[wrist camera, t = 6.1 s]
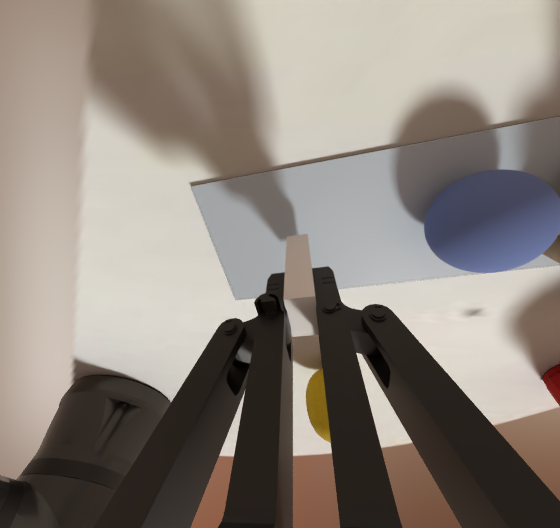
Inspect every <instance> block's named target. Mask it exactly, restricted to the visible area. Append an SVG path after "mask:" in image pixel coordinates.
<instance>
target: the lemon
mask: <svg viewBox="0 0 560 528" xmlns="http://www.w3.org/2000/svg"><path fill="white" fill-rule="evenodd" d="M306 405H307V411H308V416H309V419H310V422H311V424H312V426H313V428H314V429H315V431H316V432H317V434H318V435H319V436H321V437H322V438H323V439H324V440H326V441H328V442H331V439H330V430H329V421H328V412H327V404H326V395H325V386H324V377H323V369H320V370H318V371H317V372H315V373H314V374H313V375H312V377H311V378H310V380H309V383H308V385H307V390H306Z"/></svg>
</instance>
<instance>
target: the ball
mask: <svg viewBox="0 0 560 528" xmlns="http://www.w3.org/2000/svg"><path fill="white" fill-rule="evenodd" d="M559 232H560V198H559V196H558V194H557V193H556V191H555V190H554V189H553V188H552V187H551V186H550V185H549V184H548V183H546V182H545V181H543V180H542V179H540V178H538V177H536V176H534V175H531V174H529V173H526V172H522V171H517V170H507V169H497V170H488V171H483V172H478V173H475V174H472V175H469V176H466V177H464V178H462V179H460V180H458V181H456V182H454V183H453V184H451V185H450V186H448V187H447V188H446V189H444V190H443V191H442V192H441V193H440V194H439V195H438V196H437V197H436V198H435V200H434V201H433V202H432V204H431V205H430V207H429V209H428V211H427V214H426V217H425V222H424V233H425V238H426V241H427V243H428V245H429V247H430V249H431V250H432V251H433V253H434V254H435V255H436V256H437V257H438V258H439V259H441V260H442V261H444V262H445V263H447V264H449V265H451V266H453V267H455V268H458V269H460V270H464V271H469V272H476V273H495V272H501V271H507V270H511V269H514V268H517V267H520V266H522V265H524V264H527V263H529V262H530V261H532V260H534V259H536V258H537V257H539V256H540V255H541V254H542V253H544V252H545V251H546V250H547V249H548V248H549V247H550V246H551V245H552V243H553V242H554V241H555V239H556V238H557V236H558V234H559Z"/></svg>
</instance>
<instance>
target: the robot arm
mask: <svg viewBox="0 0 560 528" xmlns="http://www.w3.org/2000/svg"><path fill="white" fill-rule="evenodd" d="M254 304H255V307H256V310H257V312H258V316H257V317H255V318H254V319H252V320H249V321H246V322H242V321H241V320H240V319H237V318H233V319H229V320H226V321H225V322H223V323H222V324H221V325H220V326H219V327H218V329H217V330H216V332H215V334H214V335H213V337H212V338H211V340H210V342H209V343H208V345H207V346H206V348H205V350H204V351H203V353H202V354H201V356H200V358H199V359H198V361H197V362H196V364H195V366H194V367H193V369H192V370H191V372H190V374H189V375H188V377H187V378H186V380H185V382H184V383H183V385H182V386H181V388H180V390H179V391H178V393H177V394H176V396H175V398H174V399H173V401H172V402H171V403H170V402H169V401H168V400H167V399H166V398H165V397H164V396H163V395H161V394H160V393H159V392H157V391H155V390H153V389H152V388H150V387H147V386H145V385H143V384H140V383H137V382H135V381H131V380H128V379H124V378H119V377H113V376H87V377H83V378H80V379H78V380H77V381H75V382H74V384H73V385H72V386H71V387H70V389H69V390H68V391H67V392H66V394H65V395H64V396H63V397H62V399H61V402H60V404H59V408H58V410H57V412H56V414H55V416H54V418H53V420H52V422H51V424H50V426H49V429H48V431H47V433H46V435H45V437H44V439H43V442H42V444H41V446H40V448H39V450H38V452H37V453H36V455H35V456H34V458H33V459H32V460H31V462H30V463H29V464H28V466H27V467H26V468H25V470H24V471H23V472H22V474H21V475H20V476H19V477H18V478H17V480H14V479H10V478H7V477H4V476H1V475H0V528H190V527H191V525H192V522H193V519H194V517H195V515H196V512H197V509H198V507H199V504H200V502H201V500H202V497H203V494H204V492H205V489H206V487H207V484H208V482H209V479H210V477H211V474H212V472H213V469H214V467H215V464H216V462H217V459H218V457H219V454H220V452H221V449H222V447H223V444H224V442H225V439H226V437H227V434H228V432H229V429H230V427H231V424H232V422H233V419H234V416H235V414H236V411H237V409H238V406H239V404H240V401H241V399H242V396H243V394H244V391H245V396H244V401H243V407H242V413H241V419H240V425H239V431H238V436H237V442H236V448H235V454H234V460H233V466H232V472H231V478H230V483H229V490H228V495H227V501H226V507H225V512H224V516H223V519H222V522H221V523H220V525H219V527H218V528H293V346H292V341H291V334H292V337H297V336H309V335H319V342H320V350H321V359H322V368H323V377H324V386H325V395H326V404H327V412H328V421H329V430H330V439H331V448H332V456H333V466H334V474H335V483H336V492H337V501H338V510H339V519H340V528H402V525H401V522H400V519H399V515H398V512H397V508H396V504H395V500H394V496H393V493H392V488H391V485H390V481H389V477H388V473H387V469H386V465H385V462H384V458H383V454H382V450H381V446H380V442H379V439H378V435H377V431H376V427H375V423H374V419H373V416H372V412H371V408H370V404H369V400H368V396H367V393H366V389H365V385H364V381H363V377H362V374H361V370H360V366H359V362H358V358H357V354H356V353H360V354H362V356H363V357H364V359H365V361H366V362H367V364H368V366H369V368H370V369H371V371H372V373H373V375H374V376H375V378H376V380H377V381H378V383H379V385H380V387H381V388H382V390H383V392H384V394H385V395H386V397H387V399H388V400H389V402H390V404H391V406H392V407H393V409H394V411H395V413H396V414H397V416H398V418H399V420H400V421H401V423H402V425H403V426H404V428H405V430H406V432H407V433H408V435H409V437H410V439H411V440H412V442H413V444H414V445H415V447H416V449H417V451H418V452H419V454H420V456H421V458H422V459H423V461H424V463H425V464H426V466H427V468H428V470H429V471H430V473H431V475H432V477H433V478H434V480H435V482H436V483H437V485H438V487H439V489H440V490H441V492H442V494H443V495H444V497H445V499H446V501H447V503H448V504H449V506H450V508H451V509H452V511H453V513H454V515H455V516H456V518H457V520H458V522H459V523H460V525H461V527H462V528H560V501H559V500H558V499H557V498H556V496H555V495H554V494H553V493H552V492H551V491H550V490H549V488H548V487H547V486H546V485H545V484H544V483H543V482H542V481H541V479H540V478H539V477H538V476H537V475H536V474H535V473H534V471H533V470H532V469H531V468H530V467H529V466H528V465H527V464H526V462H525V461H524V460H523V459H522V458H521V457H520V456H519V455H518V453H517V452H516V451H515V450H514V449H513V448H512V447H511V445H510V444H509V443H508V442H507V441H506V440H505V439H504V437H503V436H502V435H501V434H500V433H499V432H498V431H497V430H496V428H495V427H494V426H493V425H492V424H491V423H490V422H489V420H488V419H487V418H486V417H485V416H484V415H483V414H482V412H481V411H480V410H479V409H478V408H477V407H476V406H475V405H474V403H473V402H472V401H471V400H470V399H469V398H468V397H467V395H466V394H465V393H464V392H463V391H462V390H461V389H460V388H459V386H458V385H457V384H456V383H455V382H454V381H453V380H452V378H451V377H450V376H449V375H448V374H447V373H446V372H445V371H444V369H443V368H442V367H441V366H440V365H439V364H438V363H437V361H436V360H435V359H434V358H433V357H432V356H431V355H430V354H429V352H428V351H427V350H426V349H425V348H424V347H423V346H422V344H421V343H420V342H419V341H418V340H417V339H416V338H415V337H414V335H413V334H412V333H411V332H410V331H409V330H408V329H407V327H406V326H405V325H404V324H403V323H402V322H401V321H400V319H399V318H398V317H397V316H396V315H395V314H394V313H393V312H392V311H391V310H390V309H389V308H388V307H385V306H383V305H378V304H373V305H368V306H366V307H365V308H364V309H363V310H356V309H351V308H349V307H347V306H345V305H344V304H343V303H342V302H341V299H340V296H339V292H338V288H337V284H336V280H335V276H334V272H333V270H332V269H331V268H330V267H329V266H327V267H319V268H312V264H311V256H310V248H309V240H308V234H301V235H294V236H287V241H286V259H285V272H283V273H274V274H271V275H270V277H269V278H268V280H267V287H266V293H264V294H262V295H260V296H259V297H258V298H257V299H256V300H255V302H254ZM245 389H246V390H245Z"/></svg>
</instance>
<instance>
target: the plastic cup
mask: <svg viewBox="0 0 560 528" xmlns="http://www.w3.org/2000/svg"><path fill="white" fill-rule="evenodd" d="M543 381H544V383H545V384H546V387H547V389H548V390H549V392H550V393H551V395H552V396H553V397H554V399H555V400H556V402H557V403H558V404H559V406H560V365H558V366H556V367H553V368H552V369H551V370H549V371H548V372H546V373H545V375H544V377H543Z"/></svg>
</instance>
